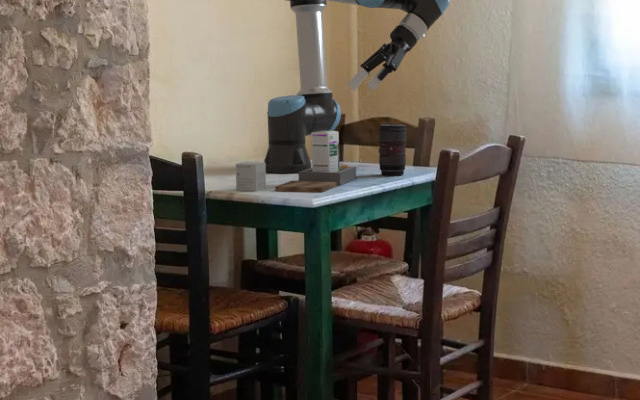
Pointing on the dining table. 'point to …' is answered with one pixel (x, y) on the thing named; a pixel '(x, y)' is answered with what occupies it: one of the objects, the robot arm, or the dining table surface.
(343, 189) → the dining table surface
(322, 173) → the grey frame with knob
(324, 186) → the walnut board
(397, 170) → the camera lens
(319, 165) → the syrup box
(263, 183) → the product box
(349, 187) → the dining table surface
